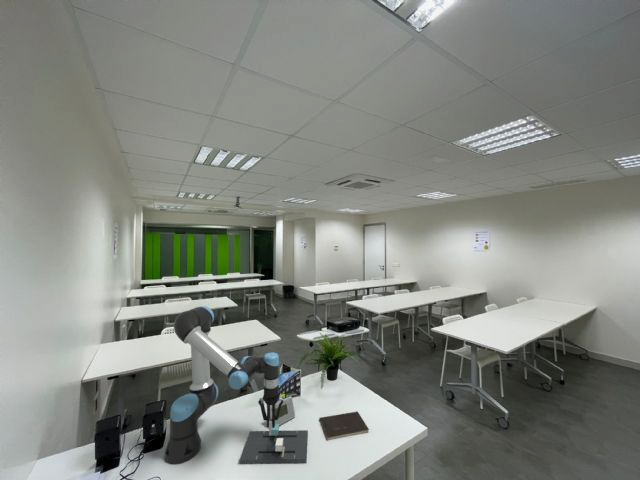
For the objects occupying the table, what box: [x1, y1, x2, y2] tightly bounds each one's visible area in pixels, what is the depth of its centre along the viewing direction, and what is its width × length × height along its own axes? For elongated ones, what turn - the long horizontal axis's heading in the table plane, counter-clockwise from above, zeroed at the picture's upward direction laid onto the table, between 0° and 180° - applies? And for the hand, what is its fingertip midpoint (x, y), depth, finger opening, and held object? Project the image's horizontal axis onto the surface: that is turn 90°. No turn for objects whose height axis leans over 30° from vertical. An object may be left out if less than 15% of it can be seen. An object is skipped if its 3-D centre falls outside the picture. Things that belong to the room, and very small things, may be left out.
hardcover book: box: [318, 411, 370, 441], centre depth 136 cm, size 16×23×2 cm
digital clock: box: [270, 395, 296, 427], centre depth 141 cm, size 16×9×11 cm, turn 121°
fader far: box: [272, 424, 280, 436], centre depth 126 cm, size 3×4×4 cm
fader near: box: [275, 438, 283, 452], centre depth 116 cm, size 3×4×4 cm
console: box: [238, 429, 309, 465], centre depth 121 cm, size 30×18×2 cm, turn 91°
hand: (270, 433), depth 126 cm, fingers closed
